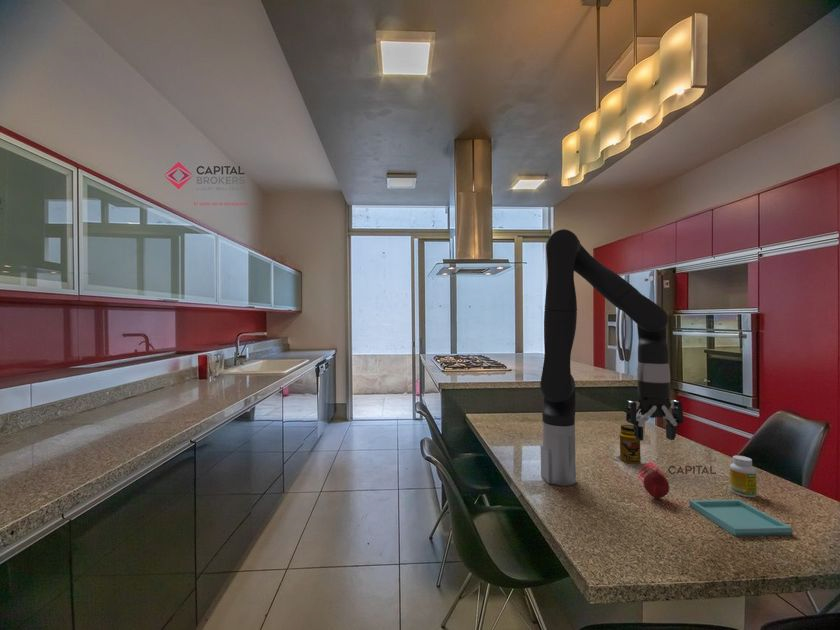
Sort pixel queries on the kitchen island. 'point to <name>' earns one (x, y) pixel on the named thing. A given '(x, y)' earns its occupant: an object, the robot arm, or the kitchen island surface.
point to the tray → (740, 518)
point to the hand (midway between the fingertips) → (655, 439)
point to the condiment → (629, 447)
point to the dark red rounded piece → (656, 484)
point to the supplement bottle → (743, 477)
